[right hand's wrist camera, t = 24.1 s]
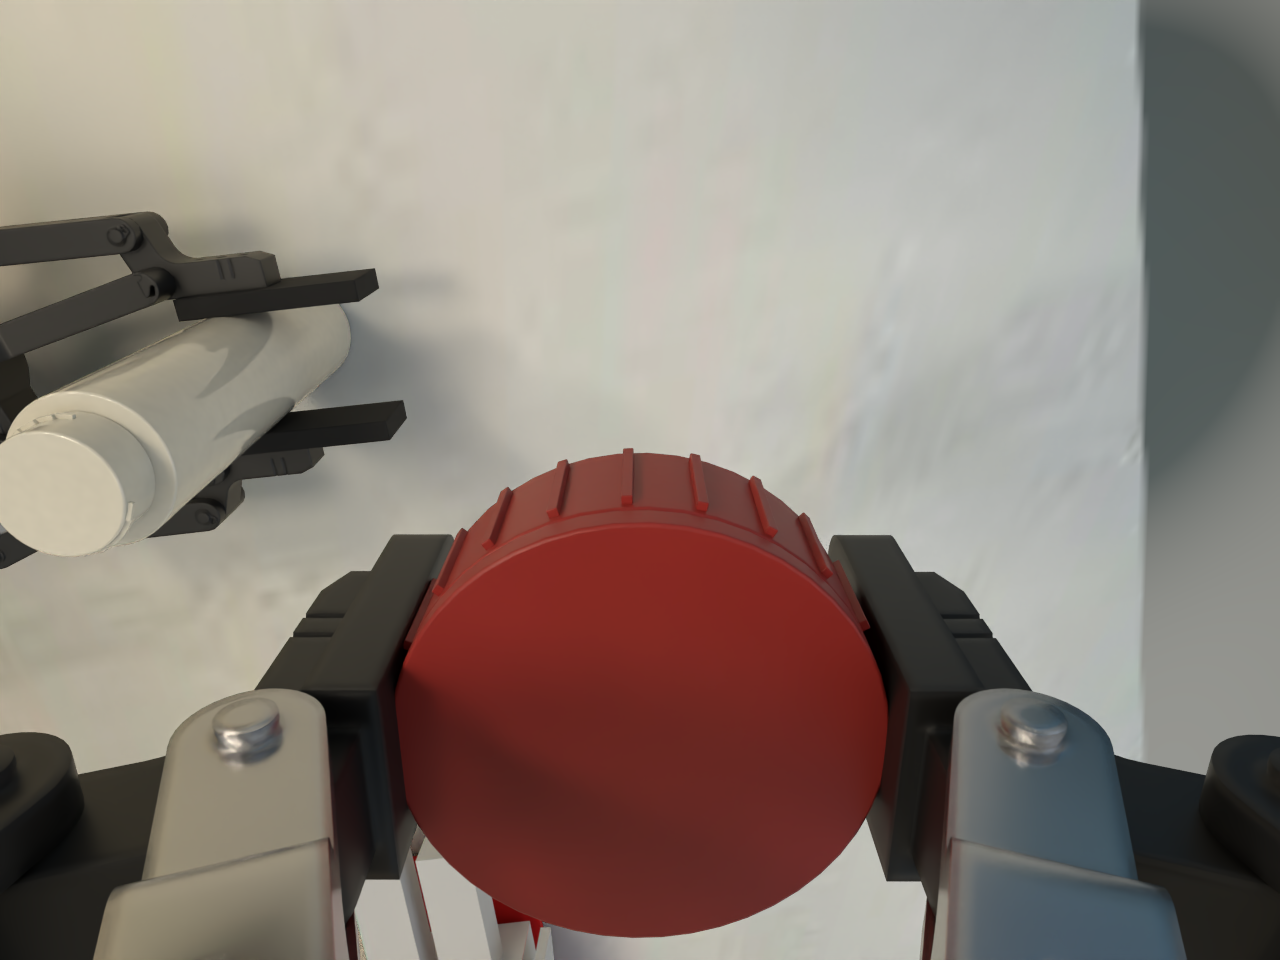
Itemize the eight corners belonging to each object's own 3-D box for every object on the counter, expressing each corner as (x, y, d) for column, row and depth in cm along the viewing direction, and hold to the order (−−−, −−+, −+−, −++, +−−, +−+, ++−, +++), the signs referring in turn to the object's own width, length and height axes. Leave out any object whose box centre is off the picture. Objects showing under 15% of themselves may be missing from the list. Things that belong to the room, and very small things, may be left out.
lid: (694, 353, 10) (707, 408, 8) (931, 690, 11) (988, 801, 9) (335, 602, 11) (272, 701, 9) (596, 879, 12) (589, 1010, 10)
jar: (242, 365, 41) (-43, 551, 23) (256, 268, 39) (-37, 389, 22) (341, 392, 42) (137, 594, 24) (359, 297, 40) (155, 438, 22)
